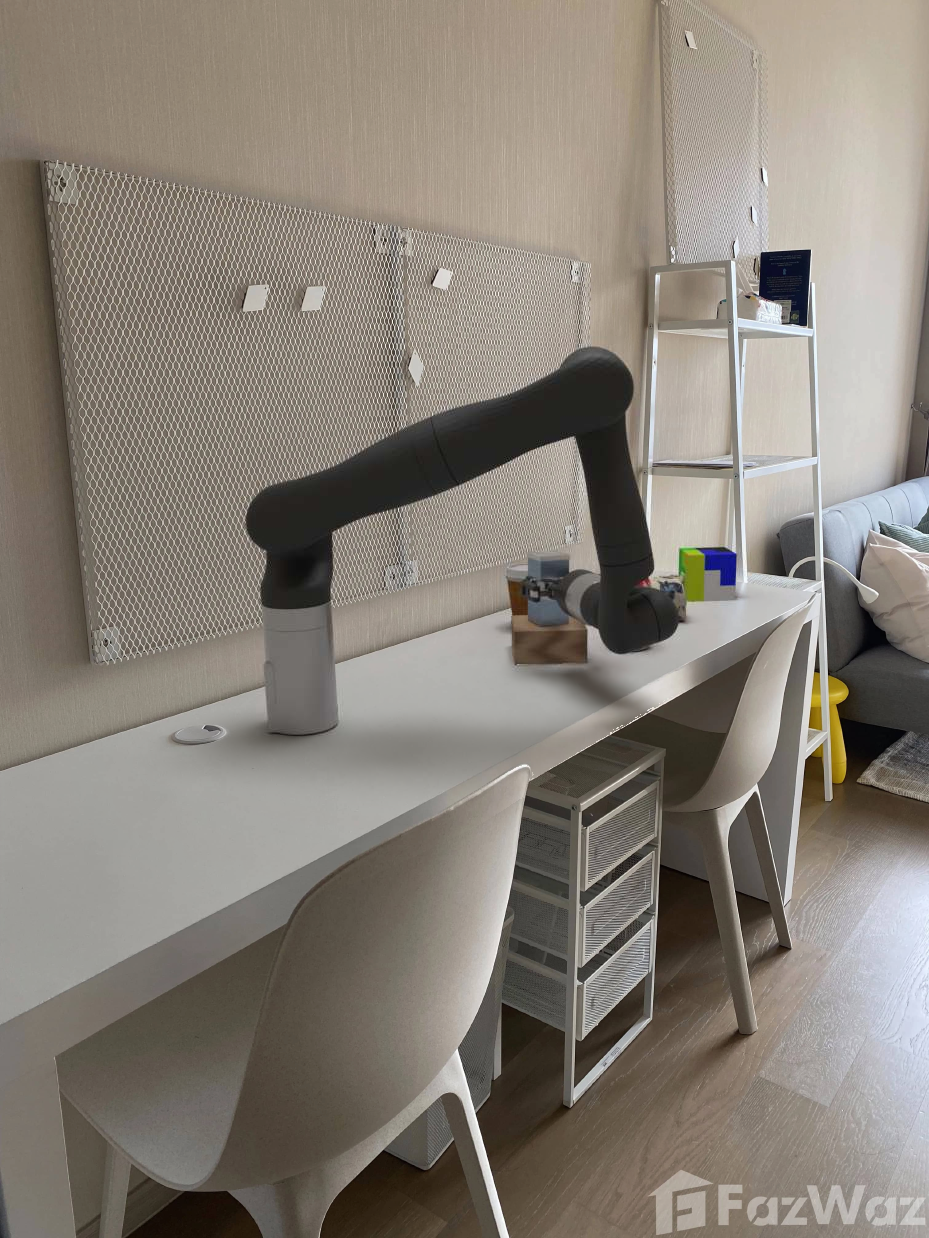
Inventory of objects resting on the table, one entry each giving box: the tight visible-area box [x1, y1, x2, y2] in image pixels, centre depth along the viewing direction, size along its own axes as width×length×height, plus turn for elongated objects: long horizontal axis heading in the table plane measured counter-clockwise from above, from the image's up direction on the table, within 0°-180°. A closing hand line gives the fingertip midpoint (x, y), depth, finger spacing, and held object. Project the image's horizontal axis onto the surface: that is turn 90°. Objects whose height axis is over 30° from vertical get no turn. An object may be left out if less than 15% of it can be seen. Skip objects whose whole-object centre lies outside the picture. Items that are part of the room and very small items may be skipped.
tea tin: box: [526, 549, 571, 627], centre depth 160 cm, size 5×5×12 cm
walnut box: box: [510, 615, 589, 666], centre depth 162 cm, size 12×12×6 cm
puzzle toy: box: [678, 546, 738, 603], centre depth 204 cm, size 10×10×10 cm
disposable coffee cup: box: [504, 562, 528, 616], centre depth 179 cm, size 10×10×12 cm
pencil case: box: [648, 572, 688, 622], centre depth 185 cm, size 22×8×10 cm, turn 84°
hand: (551, 579), depth 157 cm, fingers open, 8 cm apart
